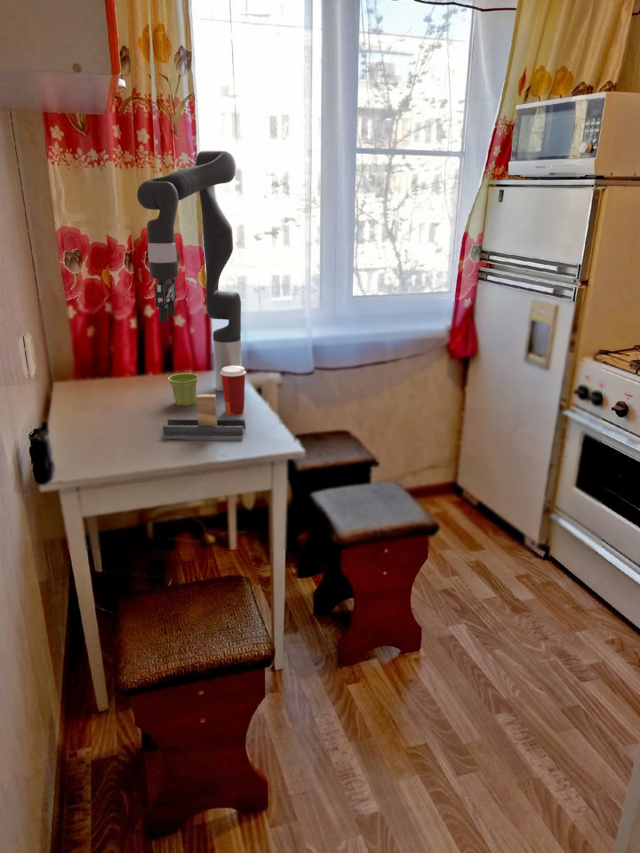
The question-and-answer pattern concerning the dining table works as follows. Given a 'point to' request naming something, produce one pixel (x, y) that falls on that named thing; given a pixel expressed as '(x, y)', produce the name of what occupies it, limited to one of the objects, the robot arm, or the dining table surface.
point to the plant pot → (184, 388)
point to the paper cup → (233, 389)
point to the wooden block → (206, 410)
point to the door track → (204, 430)
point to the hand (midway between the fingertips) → (167, 318)
